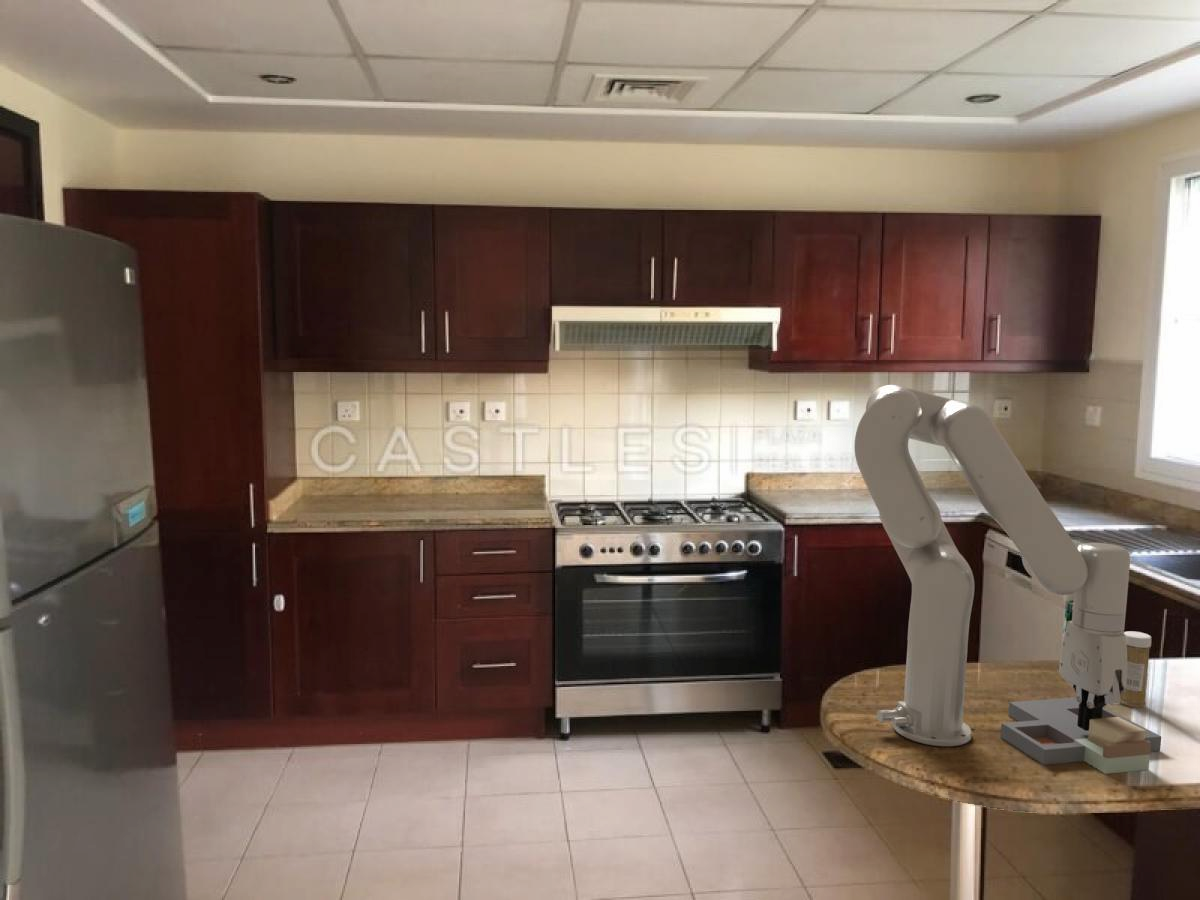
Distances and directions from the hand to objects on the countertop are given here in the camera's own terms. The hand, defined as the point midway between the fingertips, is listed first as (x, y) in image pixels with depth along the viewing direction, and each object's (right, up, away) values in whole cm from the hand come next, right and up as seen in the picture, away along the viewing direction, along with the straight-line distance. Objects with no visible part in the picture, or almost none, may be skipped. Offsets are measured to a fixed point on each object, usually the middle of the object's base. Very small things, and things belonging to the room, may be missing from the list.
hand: (1088, 728), depth 152 cm
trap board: (-1, -3, +3) cm, 5 cm away
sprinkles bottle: (+19, -2, +21) cm, 28 cm away
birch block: (+2, -2, -4) cm, 5 cm away
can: (+16, 0, +35) cm, 39 cm away
